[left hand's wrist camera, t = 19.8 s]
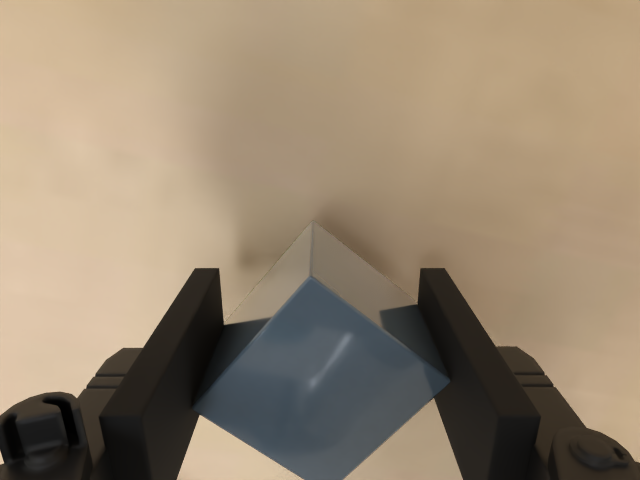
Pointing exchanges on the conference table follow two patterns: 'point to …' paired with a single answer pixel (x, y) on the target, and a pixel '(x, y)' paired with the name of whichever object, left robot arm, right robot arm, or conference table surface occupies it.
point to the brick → (321, 361)
